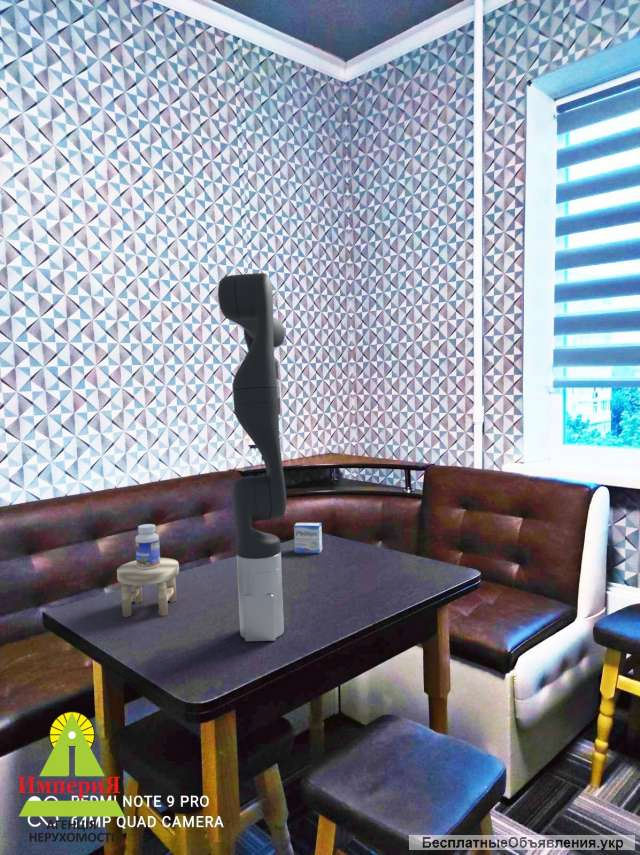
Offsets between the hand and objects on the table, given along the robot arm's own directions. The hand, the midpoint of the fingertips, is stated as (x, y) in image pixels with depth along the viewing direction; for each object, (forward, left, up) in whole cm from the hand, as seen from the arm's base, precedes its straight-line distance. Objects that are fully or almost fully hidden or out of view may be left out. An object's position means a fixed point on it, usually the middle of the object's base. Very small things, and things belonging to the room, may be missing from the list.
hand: (267, 458), depth 159 cm
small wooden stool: (-19, +27, -32) cm, 46 cm away
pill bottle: (-19, +27, -22) cm, 40 cm away
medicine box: (+23, -10, -33) cm, 41 cm away
